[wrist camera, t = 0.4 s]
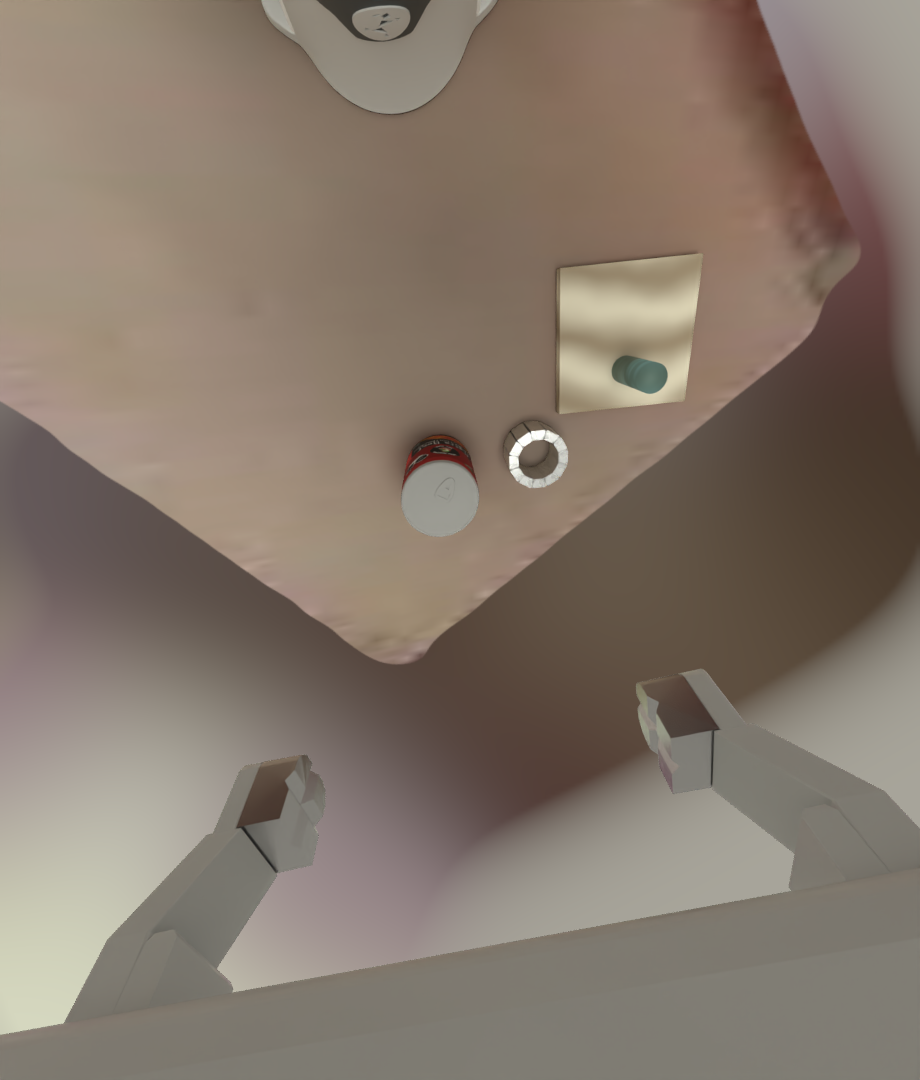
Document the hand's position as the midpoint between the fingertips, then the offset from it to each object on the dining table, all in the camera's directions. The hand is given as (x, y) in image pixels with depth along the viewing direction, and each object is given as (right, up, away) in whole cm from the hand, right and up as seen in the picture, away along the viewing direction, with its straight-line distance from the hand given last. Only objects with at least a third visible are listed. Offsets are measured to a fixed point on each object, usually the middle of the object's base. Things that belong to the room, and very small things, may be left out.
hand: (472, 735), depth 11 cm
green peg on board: (+17, +26, +38) cm, 49 cm away
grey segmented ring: (+8, +15, +43) cm, 46 cm away
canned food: (-3, +14, +43) cm, 45 cm away
